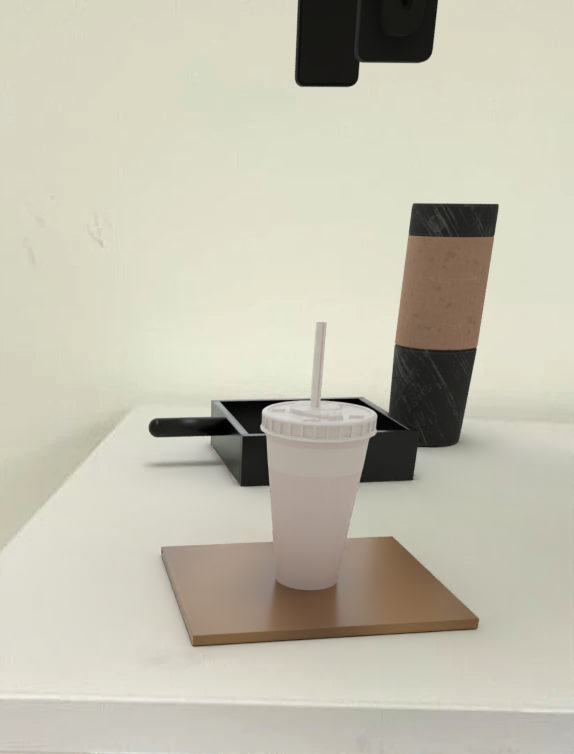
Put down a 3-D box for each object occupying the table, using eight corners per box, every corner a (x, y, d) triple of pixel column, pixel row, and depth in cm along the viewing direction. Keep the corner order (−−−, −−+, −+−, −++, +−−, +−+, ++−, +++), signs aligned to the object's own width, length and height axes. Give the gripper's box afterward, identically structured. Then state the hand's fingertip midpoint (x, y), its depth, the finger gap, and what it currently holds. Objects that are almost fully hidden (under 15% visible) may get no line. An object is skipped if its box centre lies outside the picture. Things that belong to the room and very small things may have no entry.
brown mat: (391, 544, 60) (392, 536, 59) (477, 628, 48) (479, 618, 48) (161, 555, 57) (161, 546, 57) (192, 646, 46) (192, 635, 45)
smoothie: (327, 555, 56) (349, 315, 49) (379, 590, 51) (413, 329, 43) (236, 567, 54) (245, 319, 47) (281, 605, 49) (299, 333, 41)
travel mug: (465, 449, 83) (506, 203, 72) (384, 445, 84) (413, 203, 73) (458, 431, 89) (494, 203, 79) (383, 428, 90) (409, 203, 80)
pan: (358, 439, 86) (363, 396, 84) (413, 479, 74) (420, 431, 72) (140, 445, 83) (139, 401, 81) (159, 488, 71) (158, 438, 69)
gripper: (637, -734, 24) (519, 50, 33) (411, -386, 38) (372, 94, 48) (378, -770, 23) (330, 48, 32) (246, -399, 37) (239, 93, 47)
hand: (355, 75), depth 40 cm, fingers open, 9 cm apart
